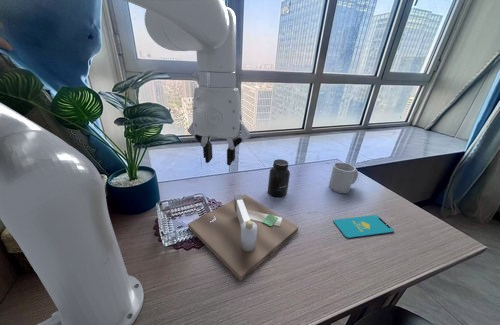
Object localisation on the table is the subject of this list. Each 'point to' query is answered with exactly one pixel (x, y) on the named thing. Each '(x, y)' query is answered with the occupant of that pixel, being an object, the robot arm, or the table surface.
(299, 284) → the table surface
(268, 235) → the board
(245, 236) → the tuning lever
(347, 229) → the smartphone
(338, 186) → the cup
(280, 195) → the supplement bottle
